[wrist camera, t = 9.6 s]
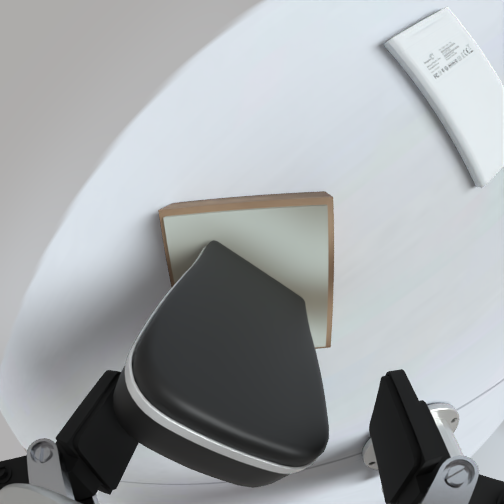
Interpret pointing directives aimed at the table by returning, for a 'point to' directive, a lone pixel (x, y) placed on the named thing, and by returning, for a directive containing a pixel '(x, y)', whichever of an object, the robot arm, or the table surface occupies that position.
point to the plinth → (263, 243)
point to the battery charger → (226, 375)
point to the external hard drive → (457, 88)
